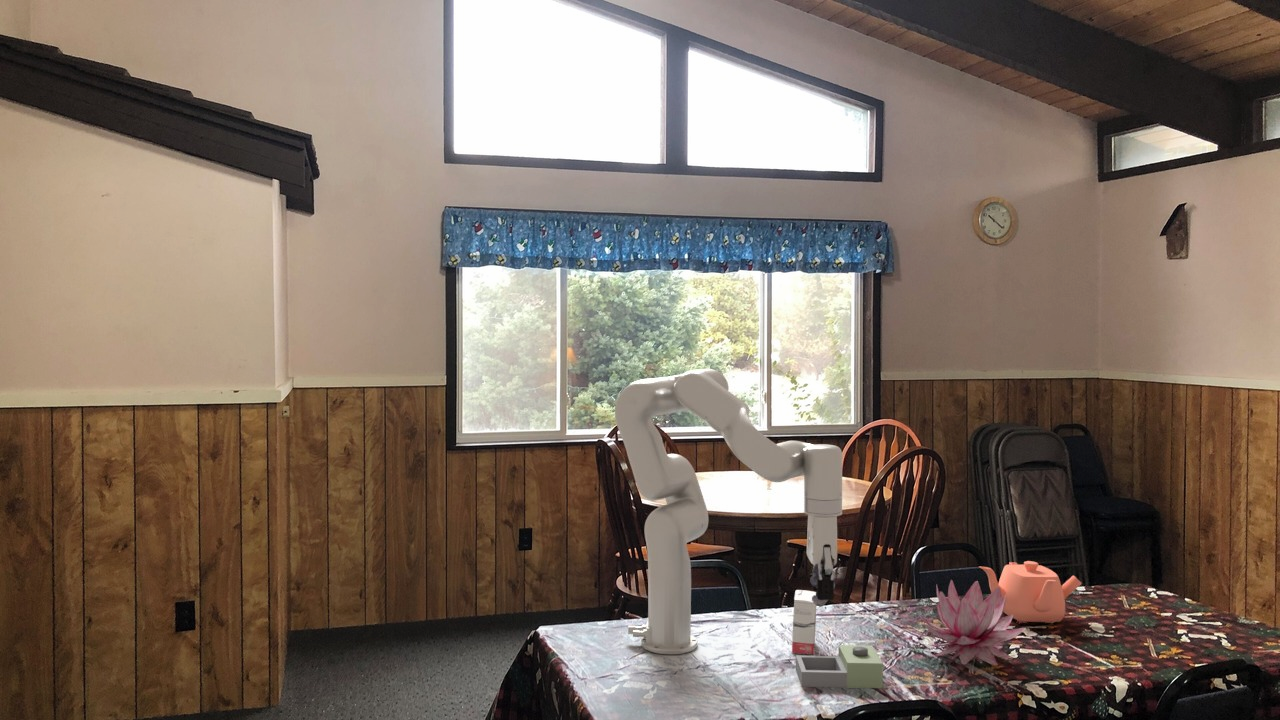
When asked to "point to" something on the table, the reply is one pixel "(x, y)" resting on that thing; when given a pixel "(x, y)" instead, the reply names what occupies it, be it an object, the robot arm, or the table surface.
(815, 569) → the seashell
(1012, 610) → the teapot
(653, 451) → the robot arm
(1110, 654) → the table surface
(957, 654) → the decorative flower
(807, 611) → the ink box
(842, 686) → the green and grey box
